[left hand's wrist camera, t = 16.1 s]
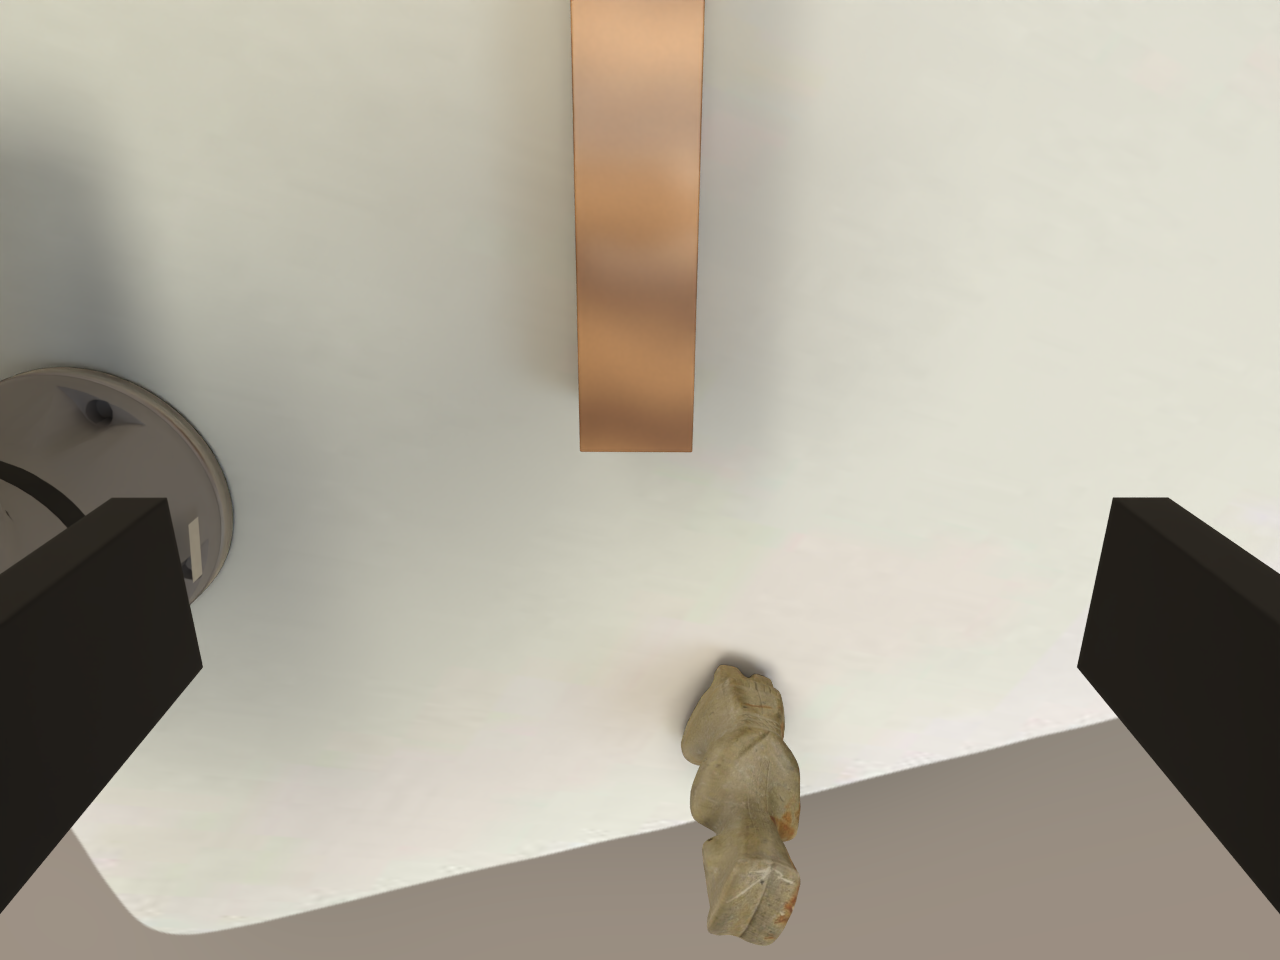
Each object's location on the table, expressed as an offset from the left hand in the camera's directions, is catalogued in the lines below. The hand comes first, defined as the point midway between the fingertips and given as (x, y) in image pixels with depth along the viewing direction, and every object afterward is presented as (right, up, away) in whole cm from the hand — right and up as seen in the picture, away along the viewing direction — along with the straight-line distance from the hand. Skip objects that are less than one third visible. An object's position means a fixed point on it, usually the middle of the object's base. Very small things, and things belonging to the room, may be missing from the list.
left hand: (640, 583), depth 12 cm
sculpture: (+6, -12, +42) cm, 44 cm away
